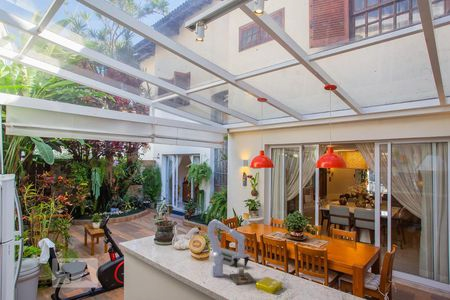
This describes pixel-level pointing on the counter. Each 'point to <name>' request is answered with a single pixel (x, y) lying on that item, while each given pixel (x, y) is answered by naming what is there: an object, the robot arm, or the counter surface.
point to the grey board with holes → (239, 279)
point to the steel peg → (240, 271)
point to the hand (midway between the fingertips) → (240, 267)
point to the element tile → (269, 285)
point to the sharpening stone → (228, 256)
